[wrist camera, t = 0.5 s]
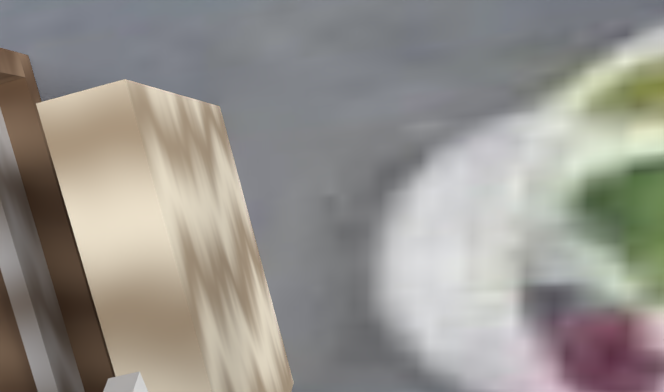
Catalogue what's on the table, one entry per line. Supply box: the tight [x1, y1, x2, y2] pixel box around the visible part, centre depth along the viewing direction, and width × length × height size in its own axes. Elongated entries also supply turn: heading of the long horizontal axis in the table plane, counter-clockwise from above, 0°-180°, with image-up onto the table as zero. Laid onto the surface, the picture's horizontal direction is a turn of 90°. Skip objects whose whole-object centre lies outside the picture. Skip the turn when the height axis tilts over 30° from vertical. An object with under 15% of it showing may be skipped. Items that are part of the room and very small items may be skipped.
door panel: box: [36, 79, 294, 392], centre depth 28 cm, size 18×4×14 cm, turn 14°
